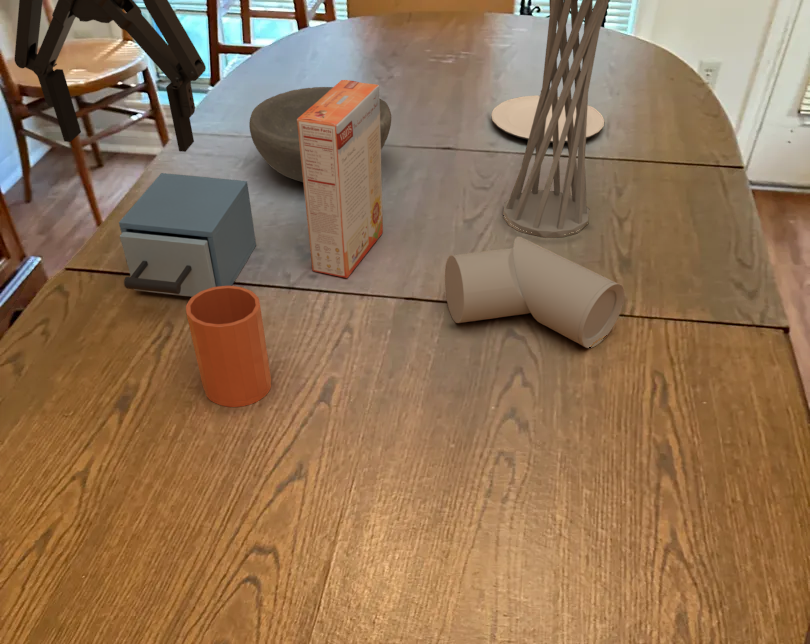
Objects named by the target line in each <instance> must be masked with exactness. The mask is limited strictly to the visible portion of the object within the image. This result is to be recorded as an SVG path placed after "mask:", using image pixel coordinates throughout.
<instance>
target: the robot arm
mask: <svg viewBox="0 0 810 644" xmlns="http://www.w3.org/2000/svg"><path fill="white" fill-rule="evenodd" d="M43 2H44V0H19V1H18V12H17V25H16V26H17V27H16V36H15V48H14V63H15V65H16V66H17V67H18V68H19V69H28V70H30V71H32V72H33V73H34V74H35V75H36V76H37V79H38V82H39V86H40V89H41V92H42V94H43V98H44V101H45V104H46V105H47V106H48V107H50V108H53V110H54V112H55V116H56V119H57V123H58V126H59V129H60V132H61V135H62V139H63V142H67V143H71V142H72V141H73V140H75V139H76V138H77V137H78V136H79V135H80V134H81V133H82V130H81V127H80V123H79V120H78V117H77V114H76V110H75V106H74V103H73V100H72V96H71V93H70V90H69V86H68V83H67V78H66V76H65V73H64V72H65V71H64V69H61V68H55V67H56V66H57V65H58V64H57V60H58V59H59V56H60V53H61V52H62V49H63V47H64V44H65V42H66V40H67V37H68V35H69V33H70V31H71V29H72V26H73V23H74V21H75V19H76V18H77V19H79V20H78V21H79V22H84V23H88V22H90V21H96V22H99V23H101V24H110V23H111V22H114V23H115V24H116V25H117V26H118V27H119V29H121V30H123V31H125V32H126V33H127V34H128V35H129V36H130V37H131V38H132V39H133V41H135V43H136V44H137V45H138V46H139V47H140V49H142V51H143V52H144V53H145V54H146V55H147V56H148V57H149V58H150V60H151V61H152V62H153V63H154V64H155V65H156V66H157V67H158V69H159V70H160V71H161V72H162V73H163V74H164V75H165V77H166V78H167V79H168V80H169V81H170V83H168V84H167V85H166V86H165V90H166V95H167V99H168V105H169V110H170V113H171V114H170V115H171V119H172V124H173V128H174V133H175V138H176V142H177V147H178V151H179V152H184V153H186V152H187V151H188V150H189V148H190V147H191V146H192V145H193V144H194V143H195V140H194V139H195V138H194V134H193V133H194V132H193V129H192V124H191V117H192V116H193V115H195V111H196V105H195V99H194V94H193V89H192V82H195V81H197V80H198V79H199V78H200V77H201V76H202V75H203V74H204V73H205V72H206V70H207V69H206V68H207V67H206V64H205V62H204V61H203V59H202V57H201V55H200V54H199V52H198V50H197V48H196V46H195V44H194V43H193V41H192V40H191V38H190V36H189V34H188V33H187V31H186V30H185V28H184V26H183V24H182V22H181V21H180V19H179V17H178V16H177V14H176V13H175V10H174V9H173V7H172V5H171V4H170V2H169V0H142V2H143V4H144V6H145V8H146V10H147V12H148V14H149V15H150V17H151V18H152V20H153V22H154V23H155V25H156V27H157V29H158V30H159V32H160V34H161V35H160V34H159V32H158V31H157V29H155V27H153V25H152V24H151V23H150V22H149V21H148V20H147V18H146V17H145V16H144V15H143V13H142V9H141V8H140V7H139V6H138V5H137V4H136V2H135V1H134V0H57V2H56V5H55V7H54V9H53V11H52V14H51V15H52V16H51V17H52V18H51V21H50V23H49V25H48V28H47V30H46V32H45V35H44V38H43V40H42V42H41V45H40V47H39V40H40V39H39V37H40V29H41V21H42V12H43V11H42V10H43ZM38 49H39V50H38ZM54 68H55V69H54Z"/></svg>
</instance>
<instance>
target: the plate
mask: <svg viewBox="0 0 810 644" xmlns="http://www.w3.org/2000/svg"><path fill="white" fill-rule="evenodd" d="M559 97H560V96H558V99H559ZM539 98H540V95H524V96H519V97H514V98H510V99H507V100H504V101H502V102H500V103H499V104H498V105H497V106H495V107H494V108H493V110H492V111H491V114H490V115H491V120H492V123H493V124H494V125H495V126H496V127H497V128H498V129H499V130H500V131H503V132H504V133H506V134H508V135H511V136H514V137H516V138H518V139H523V140H527V141H528V139H529V136H530V132H531V128H532V124H533V120H534V117H535V113H536V109H537V105H538V101H539ZM551 118H552V105H551V107H550V110H549V112H548V115H547V118H546V125H545V133H546V131H547V128H548V125H549V123H550V120H551ZM575 119H576V107H575V111H574V114H573V124H574V125H575ZM565 121H566V117H565V105H564V107H563V110H562V112H561V115H560V118H559V120H558V128H559V140H560V137H561V134H562V131H563V127H564V124H565ZM604 126H605V119H604V117H603V115H602V113H600V112H599V111H598V110H597V109H596V108H595V107H593V106H591V105H589V104H588V106H587V127H586V139H589V138H591V137H594V136H596V135H598V134H599V133H600V132H601V131H602V129H603V128H604ZM544 136H545V134H544ZM551 143H552V144H553V136H552V138H551V141H550V143H549V144H551ZM565 143H568V140H567V136H566V140H565Z"/></svg>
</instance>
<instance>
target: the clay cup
mask: <svg viewBox="0 0 810 644" xmlns="http://www.w3.org/2000/svg"><path fill="white" fill-rule="evenodd" d="M260 301H261V300H260V298H259V296H258V295H256V293H254V292H253V290H250V289H247V288H245V287H242V286H235V285H232V286H219V287H212V288H209V289H206V290H203V291H200V292H199V293H197V294H196V295H194V296H193V297H191V298H189V300H188V302H187V303H186V305H185V314H186V318H187V323H188V327H189V330H190V331H189V332H190V336H191V340H192V345H193V349H194V353H195V358H196V362H197V367H198V371H199V376H200V379H201V384H202V388H203V390H204V394H205V396H206V397H207V399H209V400H210V401H211V402H212V403H215V404H217V405H219V406H222V407H228V408H229V407H230V408H238V407H239V408H240V407H245V406H250V405H252V404H254V403H257V402H259V401H260V400H262V399H264V398H265V397H266V396H267V395H268V394H269V392H270V391H271V388H272V378H271V377H272V376H271V370H270V362H269V356H268V350H267V343H266V337H265V336H266V334H265V328H264V322H263V315H262V308H261V302H260Z"/></svg>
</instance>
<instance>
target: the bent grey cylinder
mask: <svg viewBox="0 0 810 644" xmlns="http://www.w3.org/2000/svg"><path fill="white" fill-rule="evenodd" d="M444 287H445V288H444V290H445V299H446V303H447V307H448V311H449V313H450V316H451V319H452V320H453V322H455V323H456V324H461V323H468V322H476V321H483V320H490V319H498V318H506V317H511V316H520V315H528V314H531V315H532V317H533V319H535V321H537V323H539V324H542V325H543V326H545V327H547V328H549V329H550V330H551V331H554V332H556V333H558V334H560V335H562V336H564V337H565V338H568V339H569V340H570V341H573V342H574V343H577V344H578V345H580V346H582V347H584V348H586V349H593V348H594V347H596V346H598V345H599V344H600V343H602V341H603V340H604V339H602V340H600V341H598V342H597V343H595V344H594V345H593V346H592V347H591V348H589V347H590V345H592V344H593V342H595V341H596V340H598V339H599V338H602V337H603V336H606V335H607V336H608V335H609V334H610V332H612V329H613V328H614V326H615V325H616V323H617V321H618V319H619V317H620V315H621V312H622V309H623V306H624V302H625V288H624V287H623V285H622V284H621V283H619V282H617V281H616V282H615V281H614V280H612V279H609V278H607V277H606V276H604V275H601V274H600V273H597V272H595V271H593V270H592V269H588V268H587V267H584V266H583V265H580V264H578V263H577V262H575V261H572V260H570V259H568V258H566V257H564V256H561V255H560V254H558V253H555V252H554V251H552V250H549V249H547V248H545V247H543V246H540V245H539V244H537V243H535V242H532V241H530V240H529V239H526V238H524V237H522V236H516V237H515V239H514V241H513V247H509V248H499V249H491V250H484V251H483V250H482V251H476V252H467V253H458V254H452V255H451V254H450V255H449V256H448V258H447V259H446V263H445V268H444ZM607 336H606V337H607Z"/></svg>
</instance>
